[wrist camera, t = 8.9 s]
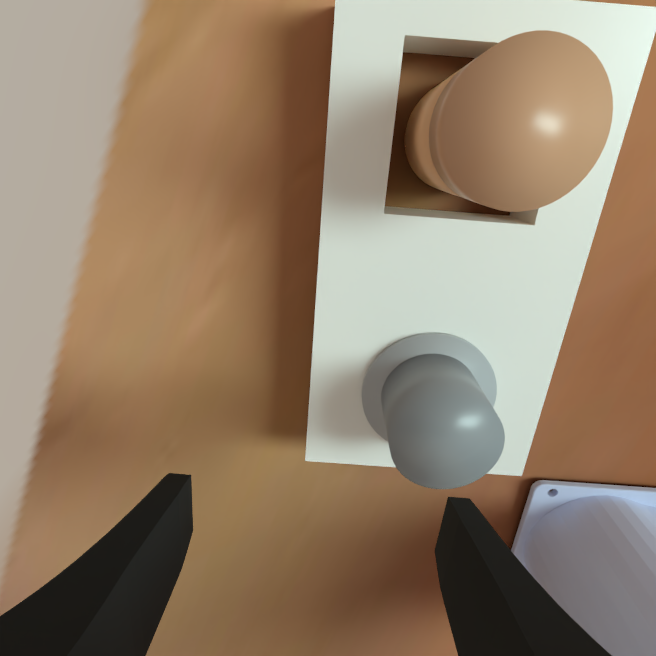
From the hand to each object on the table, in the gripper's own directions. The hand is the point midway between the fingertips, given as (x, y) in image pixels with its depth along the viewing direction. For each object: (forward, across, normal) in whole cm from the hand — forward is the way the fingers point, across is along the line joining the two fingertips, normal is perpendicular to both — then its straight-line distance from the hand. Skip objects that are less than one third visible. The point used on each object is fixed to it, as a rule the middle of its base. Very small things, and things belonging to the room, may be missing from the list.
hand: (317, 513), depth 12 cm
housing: (+9, -4, -5) cm, 12 cm away
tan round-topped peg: (+9, -4, -10) cm, 15 cm away
